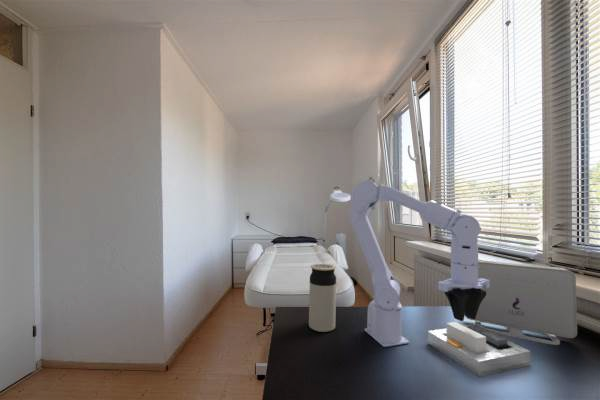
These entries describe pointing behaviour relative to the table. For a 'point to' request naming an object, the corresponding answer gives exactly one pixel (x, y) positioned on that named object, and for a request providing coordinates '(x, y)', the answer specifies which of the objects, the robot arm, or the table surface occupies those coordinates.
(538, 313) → the network device
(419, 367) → the table surface
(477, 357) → the rack
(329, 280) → the travel mug
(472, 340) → the rectangular block
